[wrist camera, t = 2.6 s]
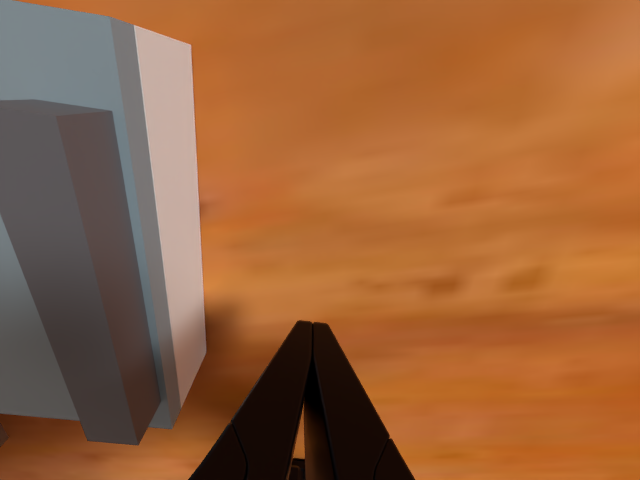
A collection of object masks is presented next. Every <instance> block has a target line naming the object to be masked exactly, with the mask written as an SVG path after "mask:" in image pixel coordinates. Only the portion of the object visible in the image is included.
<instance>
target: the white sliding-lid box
mask: <svg viewBox="0 0 640 480" xmlns="http://www.w3.org/2000/svg"><path fill="white" fill-rule="evenodd" d="M134 31H135V39H136V47H137V56H138V64H139V72H140V80H141V88H142V97H143V105H144V113H145V121H146V129H147V137H148V146H149V154H150V162H151V170H152V178H153V187H154V195H155V203H156V211H157V219H158V227H159V236H160V244H161V252H162V260H163V268H164V277H165V285H166V293H167V301H168V309H169V317H170V326H171V334H172V342H173V350H174V358H175V367H176V375H177V383H178V391H179V399H180V407H181V408H182V406H183V404H184V401H185V399H186V397H187V395H188V392H189V390H190V388H191V386H192V383H193V381H194V379H195V377H196V374H197V372H198V370H199V368H200V366H201V363H202V361H203V359H204V357H205V354H206V333H205V314H204V294H203V274H202V254H201V235H200V215H199V195H198V175H197V156H196V136H195V116H194V97H193V77H192V57H191V45H190V44H187V43H184V42H181V41H178V40H175V39H172V38H170V37H167V36H164V35H161V34H158V33H155V32H152V31H149V30H147V29H144V28H141V27H138V26H135V25H134Z"/></svg>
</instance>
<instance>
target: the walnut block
mask: <svg viewBox="0 0 640 480" xmlns="http://www.w3.org/2000/svg"><path fill="white" fill-rule="evenodd" d="M8 438H9V437H8V435H7V433H6V432H5V430H4V428H3V427H2V425H1V423H0V447H1V446H2V445H3V444H4V442H5V441H6V440H7V439H8Z"/></svg>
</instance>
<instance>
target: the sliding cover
mask: <svg viewBox="0 0 640 480" xmlns="http://www.w3.org/2000/svg"><path fill="white" fill-rule="evenodd" d="M180 410H181V407H180V399H179V391H178V383H177V375H176V367H175V358H174V350H173V342H172V334H171V326H170V317H169V309H168V301H167V293H166V285H165V277H164V268H163V260H162V252H161V244H160V236H159V227H158V219H157V211H156V203H155V195H154V187H153V178H152V170H151V162H150V154H149V146H148V137H147V129H146V121H145V113H144V105H143V97H142V88H141V80H140V72H139V64H138V56H137V47H136V39H135V31H134V25H132V24H129V23H126V22H124V21H121V20H118V19H115V18H112V17H109V16H103V15H97V14H91V13H85V12H79V11H73V10H67V9H61V8H55V7H49V6H43V5H37V4H31V3H25V2H19V1H13V0H0V414H11V415H22V416H33V417H44V418H55V419H66V420H77V421H80V422H81V425H82V428H83V430H84V433H85V435H86V438H87V441H95V442H106V443H118V444H129V445H139V443H140V441H141V439H142V437H143V435H144V434H145V432H146V430H147V428H148V427H153V428H164V429H172V428H173V426H174V424H175V422H176V419H177V417H178V415H179V413H180Z"/></svg>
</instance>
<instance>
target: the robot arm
mask: <svg viewBox="0 0 640 480" xmlns="http://www.w3.org/2000/svg"><path fill="white" fill-rule="evenodd" d="M303 404H304V442H305V461H294V460H292V459H293V454H294V449H295V444H296V439H297V434H298V429H299V424H300V420H301V414H302V409H303ZM389 437H390V435H389V433H388V431H387V430H386V428H385V426H384V424H383V422H382V421H381V419H380V417H379V415H378V413H377V412H376V410H375V408H374V406H373V404H372V403H371V401H370V399H369V397H368V395H367V394H366V392H365V390H364V388H363V386H362V385H361V383H360V381H359V379H358V377H357V376H356V374H355V372H354V370H353V368H352V367H351V365H350V363H349V361H348V359H347V358H346V356H345V354H344V352H343V350H342V349H341V347H340V345H339V343H338V341H337V340H336V338H335V336H334V334H333V332H332V331H331V329H330V327H329V325H328V324H326V323H320V322H314V323H313V324H312V322H310V321H302V320H299V321H297V322H296V324H295V325H294V327H293V328H292V330H291V331H290V333H289V334H288V336H287V337H286V339H285V340H284V342H283V343H282V345H281V346H280V348H279V349H278V351H277V352H276V354H275V355H274V357H273V358H272V360H271V361H270V363H269V364H268V366H267V367H266V369H265V370H264V372H263V373H262V375H261V376H260V378H259V379H258V381H257V382H256V384H255V385H254V387H253V388H252V390H251V391H250V393H249V394H248V396H247V397H246V399H245V400H244V402H243V403H242V405H241V406H240V408H239V409H238V411H237V412H236V414H235V415H234V417H233V418H232V420H231V423H229V424H228V425H227V427H226V428H225V430H224V431H223V433H222V434H221V436H220V437H219V439H218V440H217V442H216V443H215V444H214V446H213V447H212V449H211V450H210V451H209V453H208V454H207V456H206V457H205V458H204V460H203V461H202V463H201V464H200V465H199V467H198V468H197V469H196V470H195V472H194V473H193V474H192V475H191V477H190V478H189V479H188V480H415V478H414V477H413V475H412V473H411V472H410V470H409V468H408V467H407V465H406V463H405V461H404V460H403V458H402V456H401V455H400V453H399V451H398V449H397V447H396V445H395V444H394V442H393V440H392V439H389Z"/></svg>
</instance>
